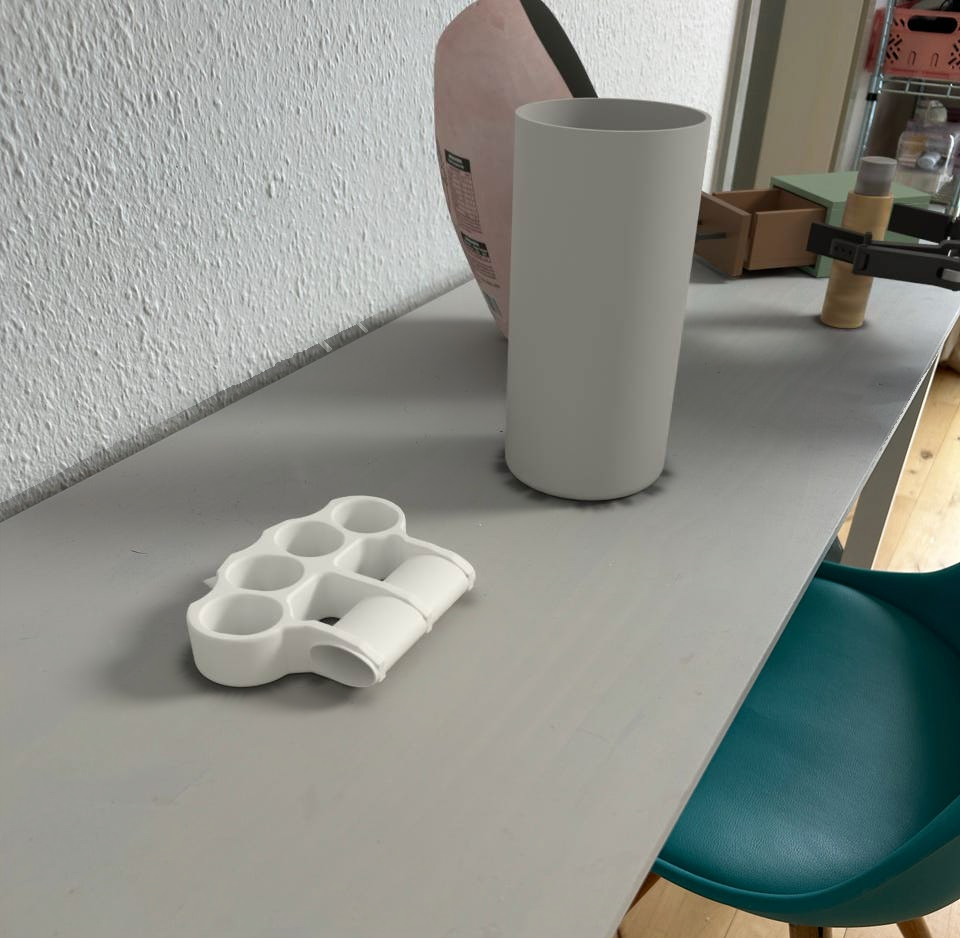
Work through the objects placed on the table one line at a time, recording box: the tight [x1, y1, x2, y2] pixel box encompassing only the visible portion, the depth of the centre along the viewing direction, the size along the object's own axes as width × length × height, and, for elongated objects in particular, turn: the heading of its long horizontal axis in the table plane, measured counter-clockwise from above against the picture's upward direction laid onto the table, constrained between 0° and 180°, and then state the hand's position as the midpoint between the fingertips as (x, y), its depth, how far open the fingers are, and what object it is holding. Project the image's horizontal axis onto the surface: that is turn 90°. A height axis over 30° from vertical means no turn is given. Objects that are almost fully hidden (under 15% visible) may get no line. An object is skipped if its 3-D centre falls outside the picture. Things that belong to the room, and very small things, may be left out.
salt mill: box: [819, 155, 898, 329], centre depth 102 cm, size 4×4×16 cm
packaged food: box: [433, 0, 599, 340], centre depth 89 cm, size 22×20×30 cm
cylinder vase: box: [504, 97, 713, 501], centre depth 71 cm, size 12×12×25 cm
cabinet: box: [768, 170, 932, 279], centre depth 123 cm, size 14×14×9 cm
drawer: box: [693, 187, 828, 277], centre depth 119 cm, size 17×12×7 cm
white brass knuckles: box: [185, 495, 477, 688], centre depth 61 cm, size 3×18×15 cm
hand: (852, 225), depth 101 cm, fingers open, 13 cm apart
